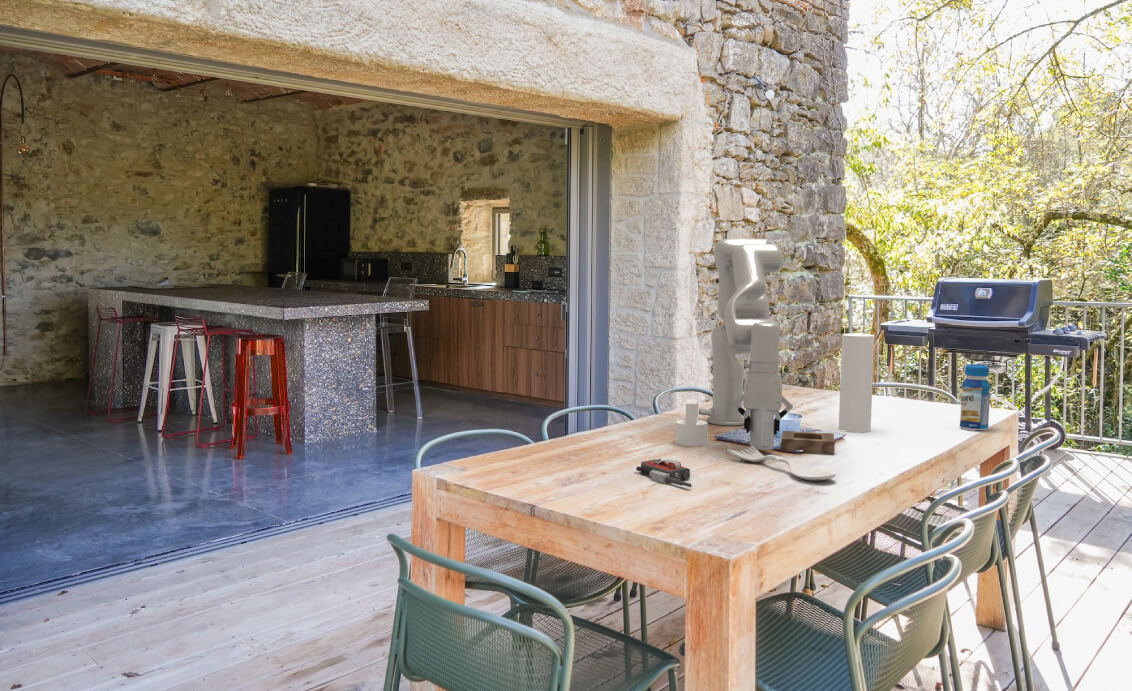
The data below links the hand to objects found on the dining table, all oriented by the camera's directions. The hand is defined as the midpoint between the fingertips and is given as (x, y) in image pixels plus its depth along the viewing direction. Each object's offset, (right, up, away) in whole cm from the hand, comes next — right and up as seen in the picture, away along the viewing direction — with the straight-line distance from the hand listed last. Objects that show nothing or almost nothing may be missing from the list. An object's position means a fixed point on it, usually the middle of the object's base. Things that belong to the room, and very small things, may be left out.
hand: (761, 432), depth 240 cm
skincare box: (0, -4, +1) cm, 4 cm away
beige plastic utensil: (+1, -8, -20) cm, 22 cm away
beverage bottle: (+75, -3, +36) cm, 83 cm away
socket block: (+14, -5, +5) cm, 16 cm away
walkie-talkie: (-28, -9, -30) cm, 42 cm away
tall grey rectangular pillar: (+36, -3, +33) cm, 49 cm away
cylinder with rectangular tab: (-17, -4, +12) cm, 22 cm away
